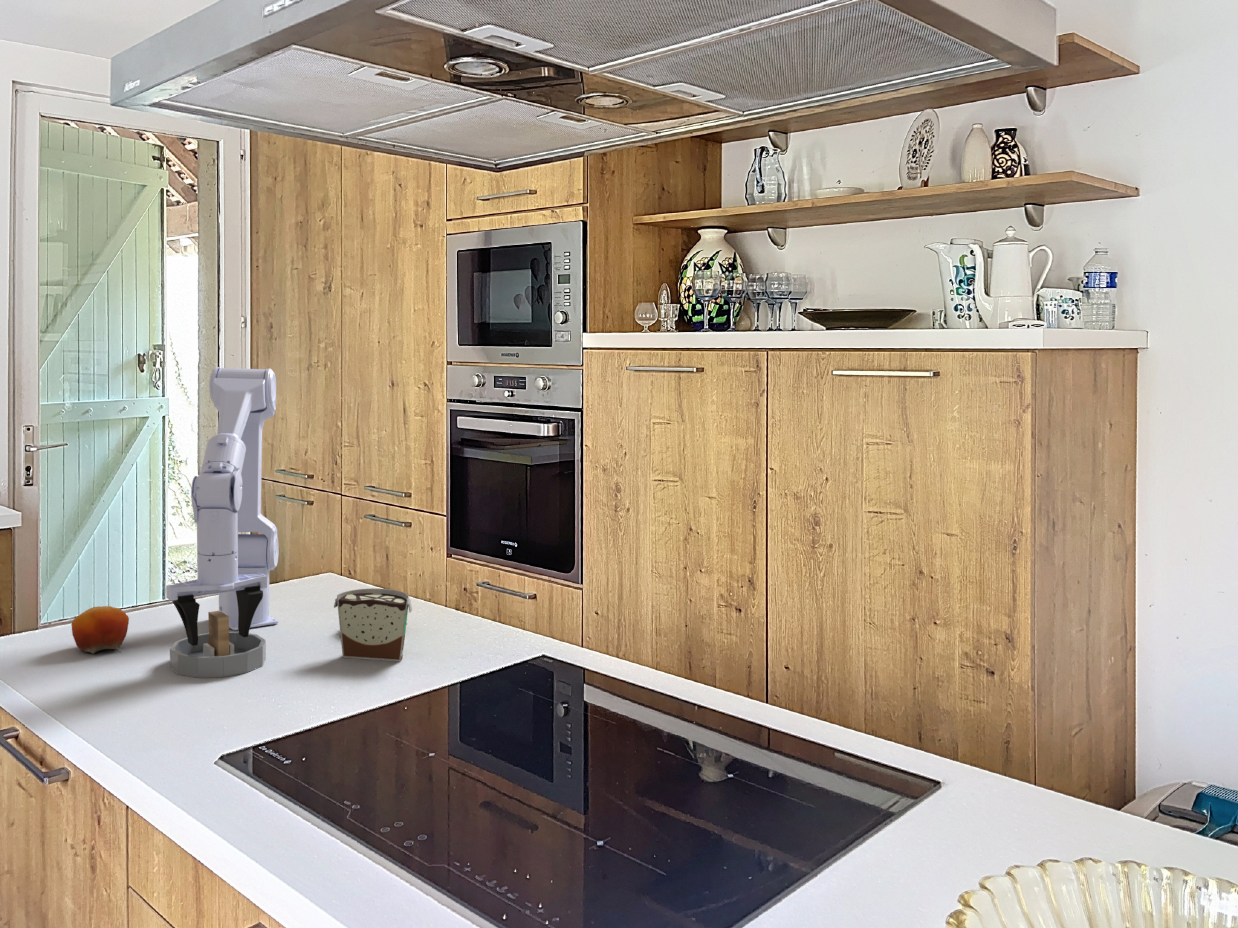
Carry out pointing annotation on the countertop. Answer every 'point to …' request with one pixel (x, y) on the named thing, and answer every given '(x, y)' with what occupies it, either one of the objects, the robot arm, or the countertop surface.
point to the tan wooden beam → (219, 633)
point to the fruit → (100, 629)
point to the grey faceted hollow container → (204, 663)
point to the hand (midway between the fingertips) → (218, 639)
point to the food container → (373, 623)
